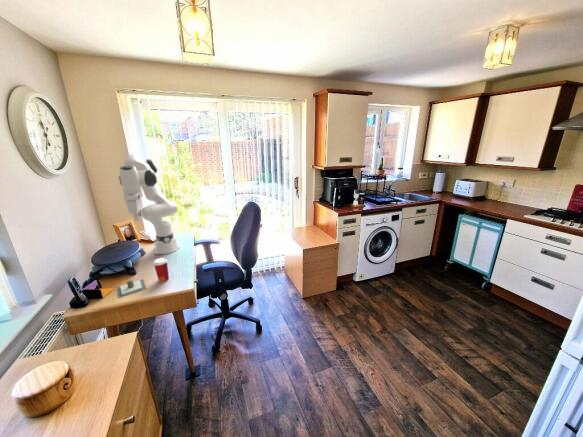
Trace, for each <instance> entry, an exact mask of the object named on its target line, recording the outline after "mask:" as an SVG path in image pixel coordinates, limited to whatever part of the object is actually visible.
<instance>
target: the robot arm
mask: <svg viewBox="0 0 583 437" xmlns="http://www.w3.org/2000/svg"><path fill="white" fill-rule="evenodd" d="M158 170H159V169H158V165H157V162H155V160H154V159H151V158H149V159H147V158H146V159H145V160H144V159H142V157H141V156H139V154H135V153H133V154H129V155H128V156H126V158H124V163H123V166H120V167H119V176H118V179H119V184H120V186H122V187H123V188H122V191H123V192H122V193H123V201H124V202H125V203H126V207H127V211H128V213H129V214H130V215H132V216H133V218H134V221H136V222H137V221H139V220H140V217H142V218H143V219H144V220H146V221H148V222H150V223H151V224H152V225H153V228H154V230H155V234H156V236H155V238H156V241H155V242H154V244H153V245H154V250H153V251H154V252H153V253H154V255H168V254H172V253H174V252H177V250H178V249H180V248H181V247H180V245H178V243H177V238H175V237H174V232H173V229H172V225H171V223H170V222H168V221H166V220H163V218H166V217H170V216H173V215H175V214H177V212H178V206H177V204H176V202H174V201H171V200H169V199H168V198H166V196H165V195H164V194H163V193H162V190H161V188H160V186H159V184H158V177H157V173H158ZM143 193H144V195H143ZM144 196H145V198H146V199H147V200H148V201H150V202H154V204H150V205H146V206H144V204H143V200H142V198H143V197H144ZM143 206H144V207H143Z"/></svg>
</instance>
